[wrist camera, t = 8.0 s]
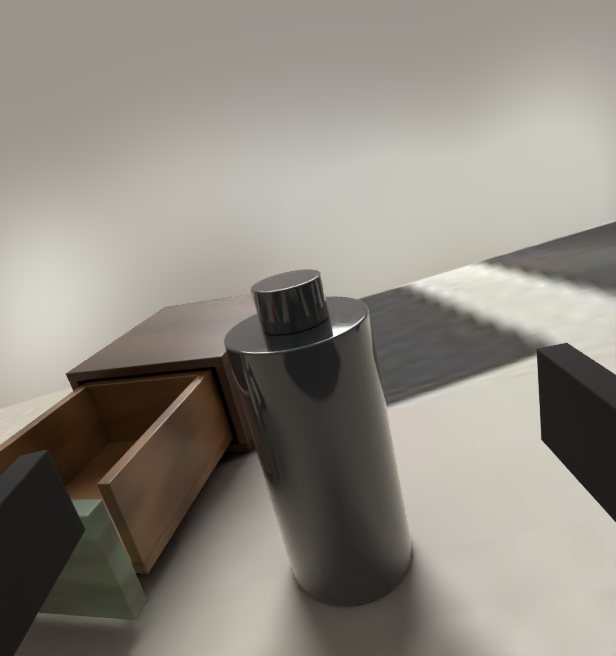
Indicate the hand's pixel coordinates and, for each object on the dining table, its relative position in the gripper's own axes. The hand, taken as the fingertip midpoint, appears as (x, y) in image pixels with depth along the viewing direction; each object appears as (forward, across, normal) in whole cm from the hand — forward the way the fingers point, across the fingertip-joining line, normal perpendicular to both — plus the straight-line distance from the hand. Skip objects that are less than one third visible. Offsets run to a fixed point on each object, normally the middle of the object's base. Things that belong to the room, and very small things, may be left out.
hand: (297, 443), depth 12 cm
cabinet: (+31, -12, -14) cm, 36 cm away
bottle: (+10, 0, -14) cm, 17 cm away
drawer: (+14, -16, -13) cm, 25 cm away
